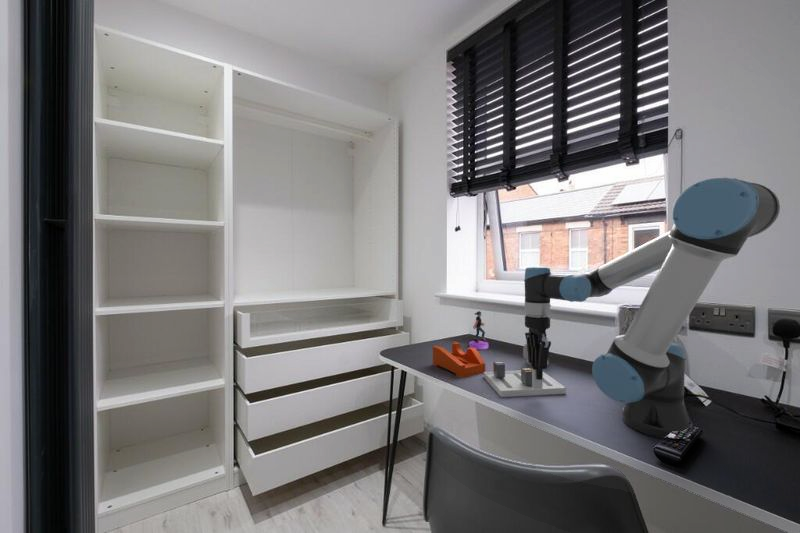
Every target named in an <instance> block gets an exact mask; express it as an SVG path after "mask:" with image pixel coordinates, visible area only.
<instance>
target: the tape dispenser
mask: <svg viewBox="0 0 800 533" xmlns="http://www.w3.org/2000/svg"><path fill="white" fill-rule="evenodd" d="M432 366H435V367H437V368H438V367H441V368H443V369H446V370H447V371H450V372H452V373H454V374H455V376H456V377H458V378H460V379H462V378H466V377H469V376H473V375H477V374H478V375H479V374H481V373H484V372H486V362H485V360H484V359H483V357H482V356H481V355H480V353H479V351H478V349H475V348H472V347H467V348H466V352H464V351H463V349H462V347H461V343H459V342H457V341H455V342H452V343H451V352H449V350H448V349H446V348H444V347H442V346H440V345H433V346H432Z"/></svg>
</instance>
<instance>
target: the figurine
mask: <svg viewBox="0 0 800 533" xmlns="http://www.w3.org/2000/svg"><path fill="white" fill-rule="evenodd" d="M474 315H475V316H476V317H475V323H474V325H473V326H472V327H473V330H475V329H476V334H475V336H474V339H473V340H472V341H469V344H468V345H469V347H468V348H470V347H472V348H475V349H476V350H487V349H488V348H489V342H487V340H486V339H485V335H486V332H485V330H484V329H483V328H482V327H484V326H485V322H482V318H481V317H482V312H481V310H479V311H478V310H477V312H475V313H474ZM480 332H481V337H480V340H478V337H479V335H480Z"/></svg>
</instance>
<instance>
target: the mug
mask: <svg viewBox="0 0 800 533" xmlns="http://www.w3.org/2000/svg"><path fill="white" fill-rule="evenodd" d="M546 339H547V341H549V338H548V337H547V336H546ZM522 354H523V358H524V359H525V360H526V364H527V365H529V366H530V363H529V361H528V351H527V342H526V343H525V344H524V345H523V349H522ZM548 366H549V361H548V362H547V367H548Z"/></svg>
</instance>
